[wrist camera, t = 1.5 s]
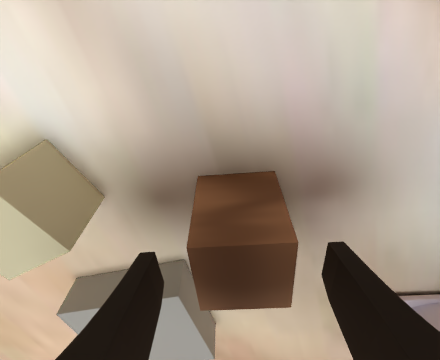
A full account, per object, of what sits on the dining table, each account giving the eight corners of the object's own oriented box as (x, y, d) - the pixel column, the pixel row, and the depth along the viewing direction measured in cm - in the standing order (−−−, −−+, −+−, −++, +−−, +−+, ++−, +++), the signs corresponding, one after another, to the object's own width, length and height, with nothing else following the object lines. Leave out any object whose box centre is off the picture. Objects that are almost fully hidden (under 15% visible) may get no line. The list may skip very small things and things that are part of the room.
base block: (184, 255, 17) (178, 296, 15) (215, 318, 21) (214, 359, 19) (79, 273, 18) (56, 314, 16) (127, 330, 23) (116, 370, 20)
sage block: (47, 138, 13) (-17, 183, 9) (105, 196, 14) (69, 251, 11) (-5, 172, 14) (-79, 225, 10) (55, 222, 15) (9, 280, 12)
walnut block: (274, 170, 13) (298, 242, 9) (272, 227, 15) (291, 307, 11) (197, 175, 14) (186, 248, 9) (206, 231, 16) (200, 310, 11)
